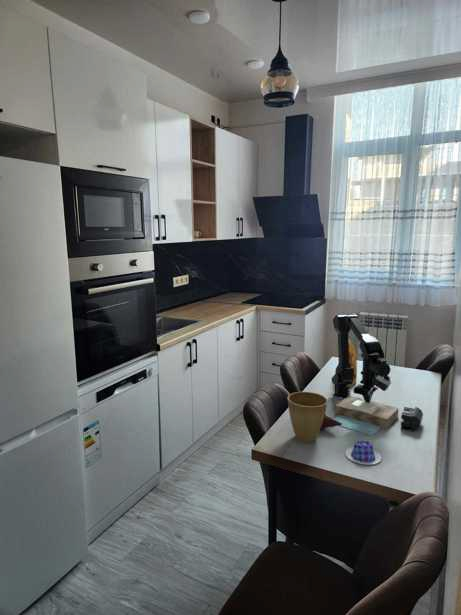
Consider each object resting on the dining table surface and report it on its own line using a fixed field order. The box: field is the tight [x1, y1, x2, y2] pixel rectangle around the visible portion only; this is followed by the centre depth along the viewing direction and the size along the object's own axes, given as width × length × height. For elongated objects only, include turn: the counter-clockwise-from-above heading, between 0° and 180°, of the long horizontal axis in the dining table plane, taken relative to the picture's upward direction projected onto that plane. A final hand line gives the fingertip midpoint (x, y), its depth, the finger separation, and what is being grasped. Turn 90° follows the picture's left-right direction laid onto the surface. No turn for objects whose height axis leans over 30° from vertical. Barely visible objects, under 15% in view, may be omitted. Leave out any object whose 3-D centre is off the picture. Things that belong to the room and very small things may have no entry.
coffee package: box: [337, 339, 358, 387], centre depth 213 cm, size 10×12×22 cm
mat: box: [333, 414, 382, 437], centre depth 165 cm, size 18×9×1 cm, turn 50°
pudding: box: [345, 439, 382, 466], centre depth 142 cm, size 12×12×5 cm
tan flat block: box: [335, 395, 399, 429], centre depth 174 cm, size 22×14×4 cm, turn 50°
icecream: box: [319, 413, 342, 431], centre depth 162 cm, size 7×7×15 cm
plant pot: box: [287, 391, 328, 443], centre depth 154 cm, size 15×15×16 cm
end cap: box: [400, 406, 424, 432], centre depth 164 cm, size 10×7×7 cm
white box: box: [351, 400, 378, 414], centre depth 171 cm, size 9×6×2 cm, turn 50°
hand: (367, 404), depth 174 cm, fingers closed
